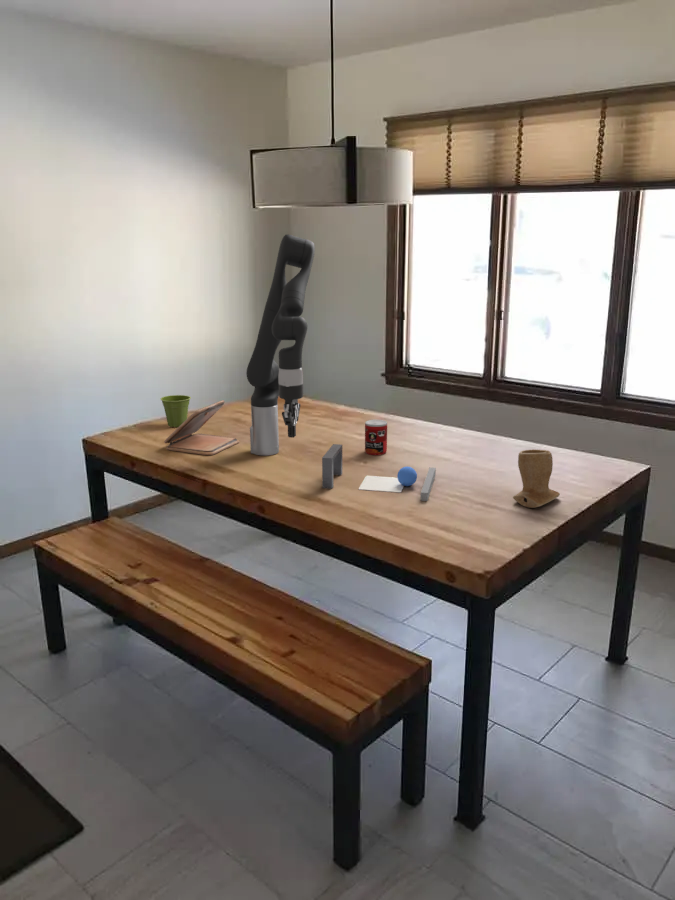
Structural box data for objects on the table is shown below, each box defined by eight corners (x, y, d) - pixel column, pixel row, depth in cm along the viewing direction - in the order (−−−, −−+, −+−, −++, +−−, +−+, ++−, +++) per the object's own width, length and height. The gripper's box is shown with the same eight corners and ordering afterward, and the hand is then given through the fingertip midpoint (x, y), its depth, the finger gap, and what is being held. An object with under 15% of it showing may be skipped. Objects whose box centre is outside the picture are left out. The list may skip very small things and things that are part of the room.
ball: (394, 485, 231) (399, 468, 228) (396, 478, 236) (401, 461, 234) (413, 491, 230) (418, 473, 228) (414, 484, 236) (420, 467, 233)
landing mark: (358, 489, 229) (358, 488, 229) (366, 476, 242) (366, 475, 242) (401, 492, 227) (401, 492, 227) (406, 478, 239) (406, 478, 239)
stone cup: (528, 489, 229) (531, 442, 225) (564, 498, 222) (568, 449, 217) (501, 502, 219) (504, 452, 214) (538, 512, 211) (542, 461, 207)
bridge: (322, 488, 231) (322, 457, 228) (333, 472, 245) (333, 444, 242) (331, 488, 230) (331, 458, 227) (342, 473, 244) (342, 444, 241)
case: (195, 436, 289) (192, 395, 284) (242, 442, 280) (240, 400, 275) (161, 450, 271) (158, 407, 266) (211, 458, 262) (208, 413, 258)
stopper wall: (420, 500, 220) (420, 492, 220) (429, 474, 243) (429, 467, 242) (427, 501, 220) (427, 492, 219) (435, 475, 242) (435, 467, 242)
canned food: (361, 454, 265) (361, 423, 261) (369, 448, 272) (369, 418, 268) (382, 456, 262) (383, 425, 259) (389, 450, 269) (390, 420, 266)
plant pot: (198, 424, 304) (197, 397, 300) (174, 430, 295) (172, 402, 292) (180, 420, 311) (178, 393, 308) (156, 425, 302) (154, 398, 299)
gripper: (285, 377, 238) (286, 430, 243) (272, 386, 226) (274, 441, 231) (308, 378, 237) (308, 432, 242) (296, 387, 224) (297, 443, 229)
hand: (291, 436), depth 236 cm, fingers closed
